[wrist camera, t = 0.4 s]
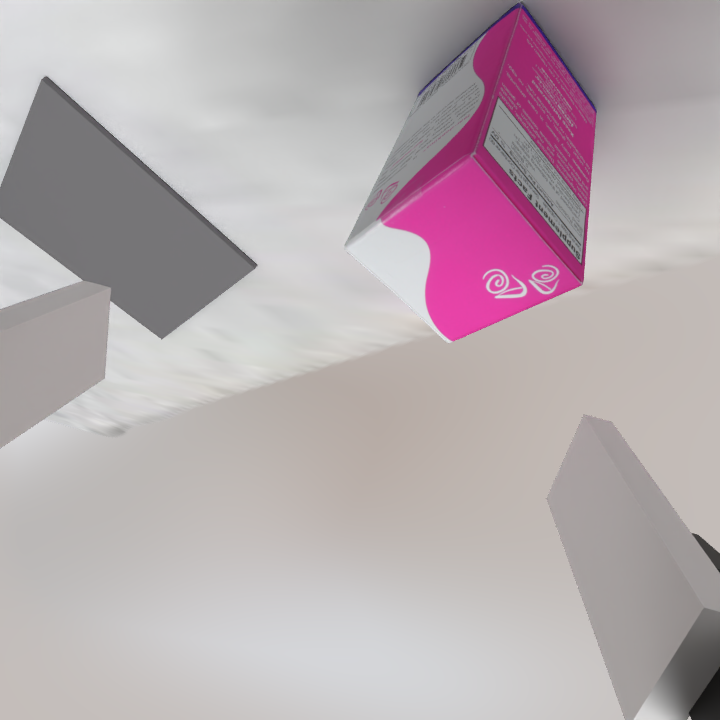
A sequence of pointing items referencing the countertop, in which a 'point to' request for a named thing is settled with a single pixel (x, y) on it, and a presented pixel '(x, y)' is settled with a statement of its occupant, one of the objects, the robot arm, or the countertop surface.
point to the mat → (113, 217)
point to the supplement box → (485, 186)
